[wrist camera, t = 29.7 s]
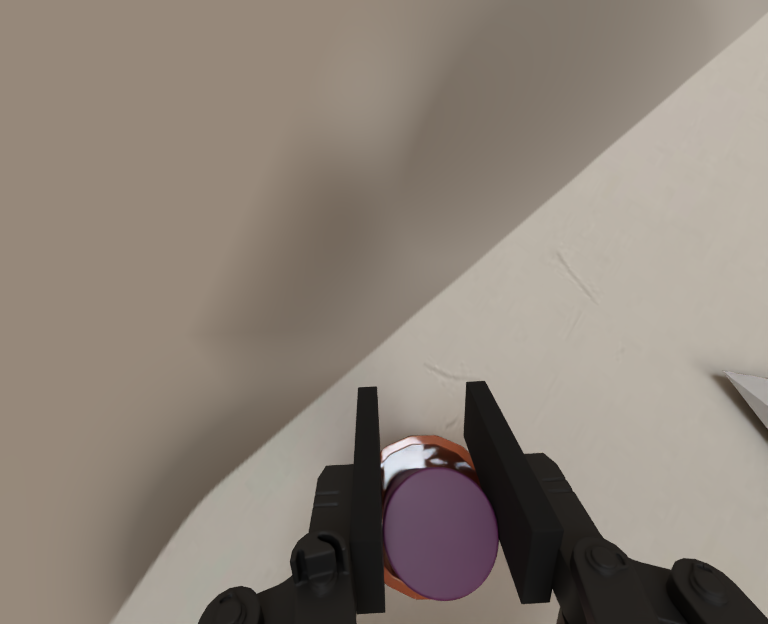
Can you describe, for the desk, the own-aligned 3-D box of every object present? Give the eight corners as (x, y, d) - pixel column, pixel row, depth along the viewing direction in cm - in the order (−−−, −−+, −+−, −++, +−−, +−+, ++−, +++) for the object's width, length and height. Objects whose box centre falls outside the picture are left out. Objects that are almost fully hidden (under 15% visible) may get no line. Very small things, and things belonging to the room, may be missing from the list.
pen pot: (346, 532, 21) (330, 558, 15) (386, 428, 23) (386, 414, 17) (449, 582, 20) (476, 629, 14) (481, 468, 22) (515, 468, 16)
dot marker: (374, 522, 20) (364, 569, 11) (397, 458, 22) (406, 449, 12) (435, 551, 20) (481, 625, 10) (455, 483, 21) (512, 494, 12)
